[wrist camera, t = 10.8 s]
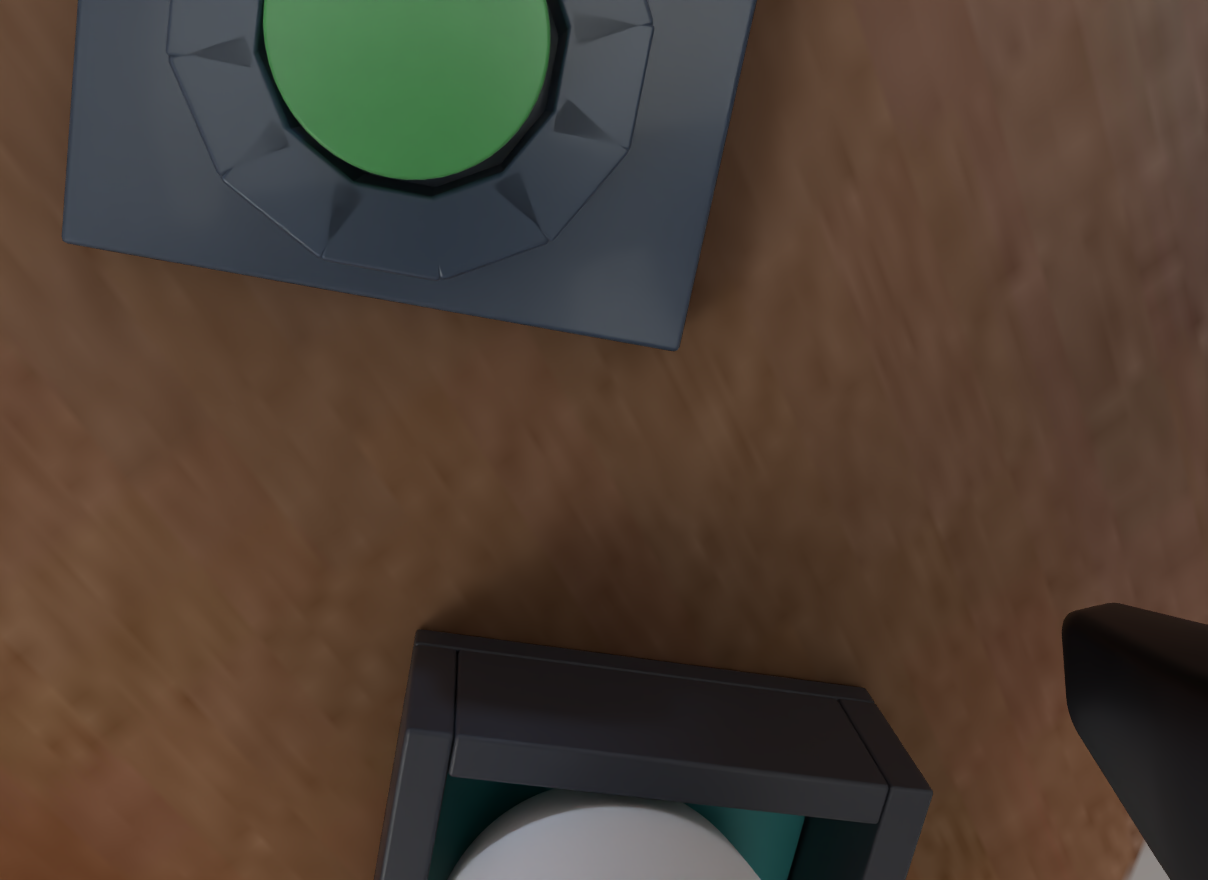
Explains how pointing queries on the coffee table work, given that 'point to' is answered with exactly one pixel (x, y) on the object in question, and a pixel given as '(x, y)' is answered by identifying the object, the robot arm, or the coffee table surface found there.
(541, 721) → the divided tray
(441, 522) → the coffee table surface
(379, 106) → the button
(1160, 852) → the robot arm
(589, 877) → the can
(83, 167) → the grey button base
